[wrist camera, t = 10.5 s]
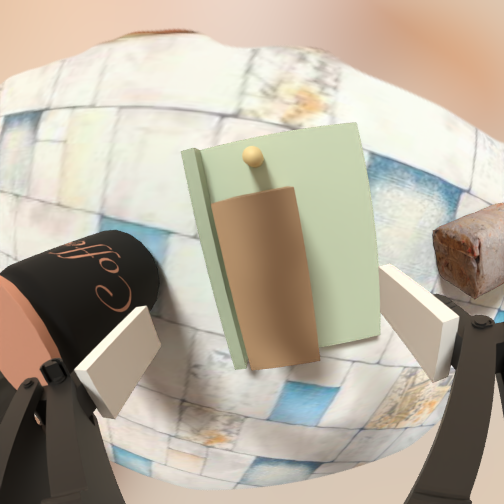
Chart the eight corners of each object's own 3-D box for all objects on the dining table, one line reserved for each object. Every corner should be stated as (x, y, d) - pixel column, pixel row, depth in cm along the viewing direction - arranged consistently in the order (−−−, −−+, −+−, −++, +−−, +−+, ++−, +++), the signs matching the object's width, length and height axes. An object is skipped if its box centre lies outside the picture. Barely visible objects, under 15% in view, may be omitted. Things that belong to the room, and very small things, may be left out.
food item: (502, 193, 23) (554, 201, 14) (507, 251, 25) (555, 272, 15) (428, 222, 25) (483, 240, 16) (437, 287, 27) (484, 324, 17)
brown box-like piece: (259, 316, 28) (251, 370, 19) (233, 196, 25) (210, 203, 16) (309, 308, 27) (320, 360, 18) (288, 186, 24) (294, 186, 16)
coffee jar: (181, 272, 29) (81, 374, 11) (135, 330, 31) (51, 427, 14) (113, 208, 28) (-21, 242, 10) (77, 273, 30) (-27, 333, 13)
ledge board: (239, 351, 31) (233, 375, 26) (192, 155, 26) (176, 150, 21) (376, 328, 28) (389, 349, 24) (352, 125, 24) (365, 115, 19)
